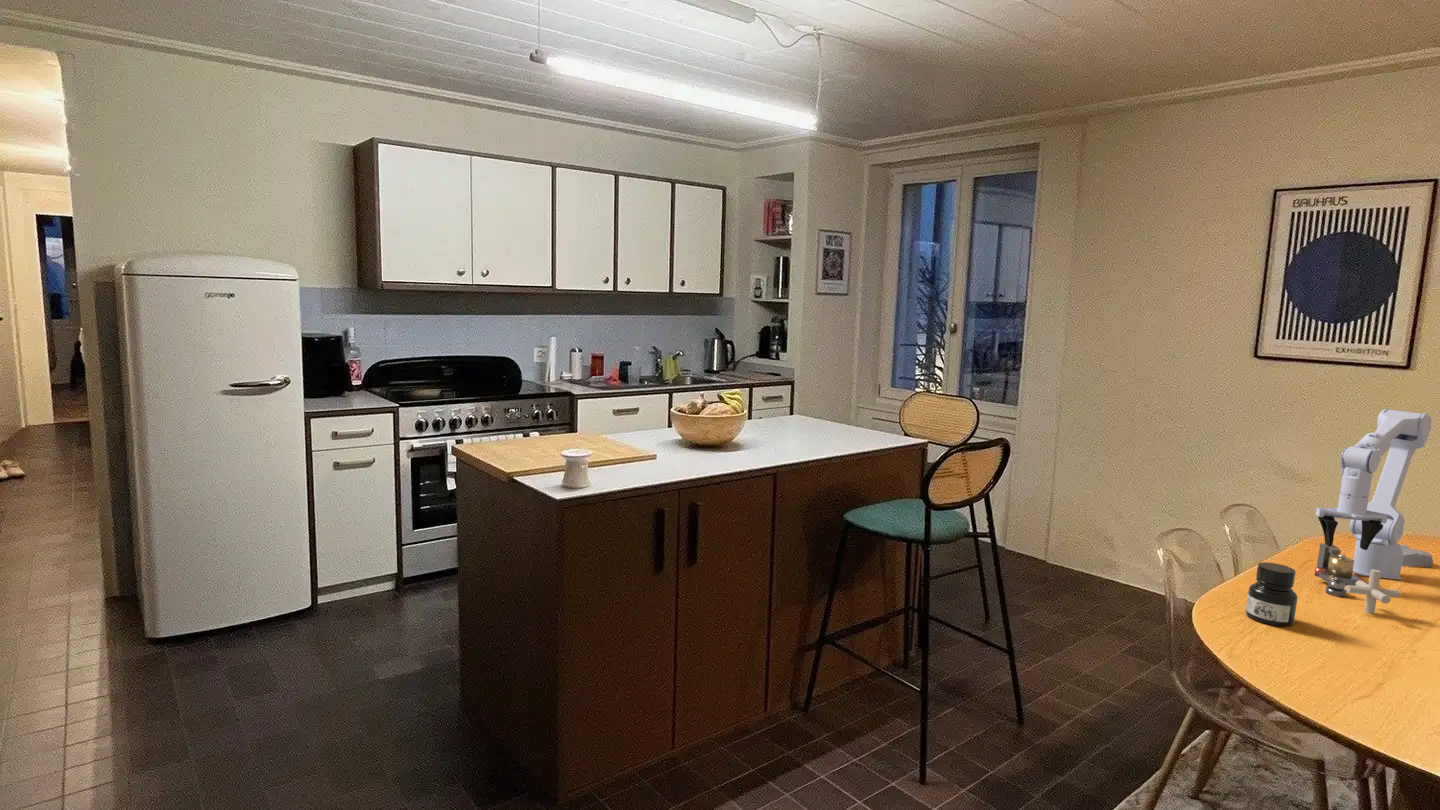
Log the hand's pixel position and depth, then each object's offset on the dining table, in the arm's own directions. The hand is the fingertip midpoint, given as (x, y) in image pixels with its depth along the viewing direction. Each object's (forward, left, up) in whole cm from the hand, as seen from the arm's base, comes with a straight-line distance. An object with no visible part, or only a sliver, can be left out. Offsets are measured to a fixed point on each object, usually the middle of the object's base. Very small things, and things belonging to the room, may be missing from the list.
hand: (1345, 547), depth 200 cm
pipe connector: (+3, +21, -10) cm, 23 cm away
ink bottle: (+28, +34, -10) cm, 45 cm away
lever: (+5, +6, -8) cm, 11 cm away
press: (-1, -5, -9) cm, 11 cm away
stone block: (-27, -29, -10) cm, 41 cm away
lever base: (+5, +10, -10) cm, 15 cm away
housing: (-1, -3, -8) cm, 9 cm away
